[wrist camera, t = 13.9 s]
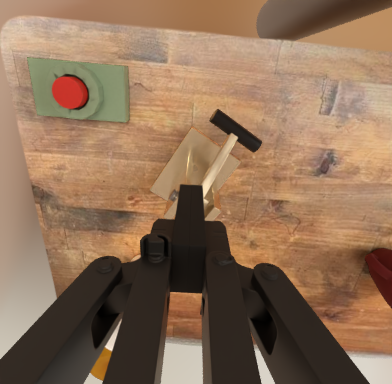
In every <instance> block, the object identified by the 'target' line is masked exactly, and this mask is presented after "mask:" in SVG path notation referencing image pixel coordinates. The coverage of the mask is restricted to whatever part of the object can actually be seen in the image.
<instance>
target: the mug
mask: <svg viewBox="0 0 392 384" xmlns="http://www.w3.org/2000/svg"><path fill="white" fill-rule="evenodd" d="M365 261H366V262H367V263H368V267H369V272H370V275H371V277H372V279H373V280H374V282H375V284H376V286H377V287H378V289H379V291H380V293H381V295H382V296H383V298H384V299H385V301H386V302H387V303H388V304H389V306H390V307H391V308H392V250H390V249H385V248H380V249H376V250H374V251H373V252H372V253H369V254H367V255H366V256H365Z"/></svg>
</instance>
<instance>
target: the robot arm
mask: <svg viewBox="0 0 392 384" xmlns="http://www.w3.org/2000/svg"><path fill="white" fill-rule="evenodd" d="M140 252H141V257H140V258H139V259H137V260H135V261H131V262H127V263H121V261H120V260H119V258H116V257H114V256H104V257H100V258H98V259H95V260H94V261H93V262H92V263H90V265H89V266H88V267H87V268H86V269H85V270H84V271H83V272H82V273H81V274H80V275H79V276H78V277H77V278H76V279H75V280H74V282H73V283H72V284H71V285H70V286H69V287H68V288H67V289H66V290H65V291H64V292H63V293H62V294H61V295H60V296H59V298H58V299H57V300H56V301H55V302H54V303H53V304H52V305H51V306H50V307H49V308H48V309H47V310H46V311H45V312H44V314H43V315H42V316H41V317H40V318H39V319H38V320H37V321H36V322H35V323H34V324H33V325H32V326H31V327H30V328H29V330H28V331H27V332H26V333H25V334H24V335H23V336H22V337H21V338H20V339H19V340H18V341H17V342H16V343H15V344H14V346H13V347H12V348H11V349H10V350H9V351H8V352H7V353H6V354H5V355H4V356H3V357H2V358H1V359H0V384H83V383H84V382H85V380H86V378H87V377H88V375H89V373H90V372H91V370H92V368H93V366H94V365H95V363H96V361H97V360H98V358H99V356H100V355H101V353H102V351H103V349H104V348H105V346H106V344H107V343H108V341H109V339H110V338H111V336H112V334H113V333H114V331H115V329H116V327H117V326H118V324H119V322H120V321H121V323H120V327H119V330H118V333H117V337H116V340H115V343H114V347H113V350H112V353H111V357H110V360H109V363H108V366H107V370H106V373H105V376H104V380H103V383H102V384H160V383H161V374H162V365H163V356H164V347H165V339H166V330H167V321H168V312H169V303H170V292H183V293H202V302H201V312H200V315H202V348H203V349H202V353H203V384H261V379H260V375H259V370H258V365H257V360H256V356H255V351H254V346H253V341H252V337H251V333H252V335H253V337H254V339H255V341H256V344H257V346H258V348H259V350H260V352H261V354H262V356H263V358H264V361H265V363H266V365H267V367H268V369H269V371H270V373H271V375H272V377H273V380H274V382H275V384H370V383H369V382H368V381H367V379H366V378H365V377H364V376H363V374H362V373H361V372H360V370H359V369H358V368H357V366H356V365H355V364H354V363H353V361H352V360H351V359H350V357H349V356H348V355H347V354H346V352H345V351H344V350H343V348H342V347H341V346H340V344H339V343H338V342H337V341H336V339H335V338H334V337H333V335H332V334H331V333H330V332H329V330H328V329H327V328H326V326H325V325H324V324H323V322H322V321H321V320H320V319H319V317H318V316H317V315H316V313H315V312H314V311H313V310H312V308H311V307H310V306H309V304H308V303H307V302H306V300H305V299H304V298H303V297H302V295H301V294H300V293H299V291H298V290H297V289H296V288H295V286H294V285H293V284H292V282H291V281H290V280H289V278H288V277H287V276H286V275H285V273H284V272H283V271H282V270H281V269H280V268H279V267H277V266H275V265H273V264H269V263H260V264H257V265H256V266H255V267H254V269H251V268H247V267H244V266H242V265H240V264H238V263H237V262H236V261H235V259H234V257H233V256H232V255H231V252H230V247H229V242H228V238H227V232H226V227H225V226H224V224H223V223H222V222H221V221H205V215H204V199H203V185H187V184H180V188H179V195H178V202H177V209H176V216H175V219H158V220H156V221H155V222H154V223H153V227H152V230H151V234H147V235H145V236H144V237H142V239H141V240H140ZM121 319H122V320H121ZM250 331H251V332H250Z"/></svg>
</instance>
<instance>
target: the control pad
mask: <svg viewBox="0 0 392 384" xmlns="http://www.w3.org/2000/svg"><path fill="white" fill-rule="evenodd" d="M27 61H28V66H29V72H30V77H31V83H32V89H33V94H34V100H35V105H36V111H37V115H41V116H53V117H65V118H69V119H80V120H82V119H89V120H101V121H112V122H124V123H126V122H127V121H129V87H128V66H120V65H108V64H97V63H86V62H75V61H63V60H52V59H41V58H30V57H27ZM59 77H76V78H78V79H79V80H81V81H82V82H83V83H84V85H85V86H86V88H87V91H88V99H87V101H86V103H85V104H84V105H83V106H81V107H77V108H74V109H67V108H64V107H62V106H61V105H59V104H58V103H57V102H56V100H55V99H54V97H53V94H52V85H53V83H54V81H55V80H56V79H57V78H59Z"/></svg>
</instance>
